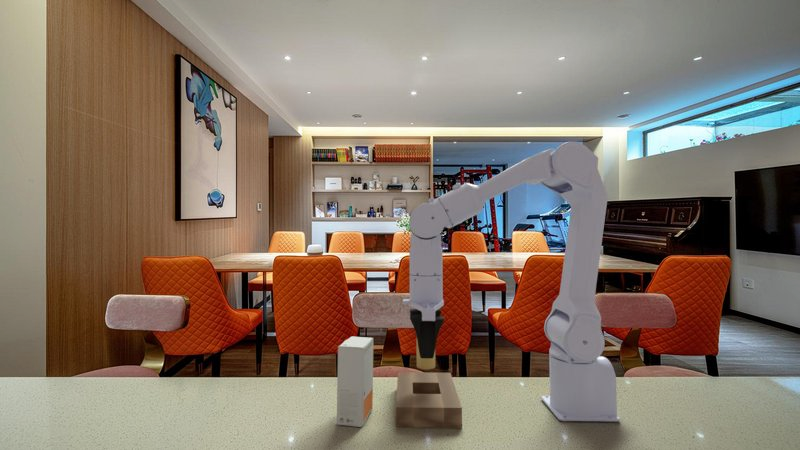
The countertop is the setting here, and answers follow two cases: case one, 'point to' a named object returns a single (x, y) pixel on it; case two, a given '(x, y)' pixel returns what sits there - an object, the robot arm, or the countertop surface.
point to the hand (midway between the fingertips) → (426, 354)
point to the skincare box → (355, 381)
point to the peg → (425, 361)
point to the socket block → (427, 401)
